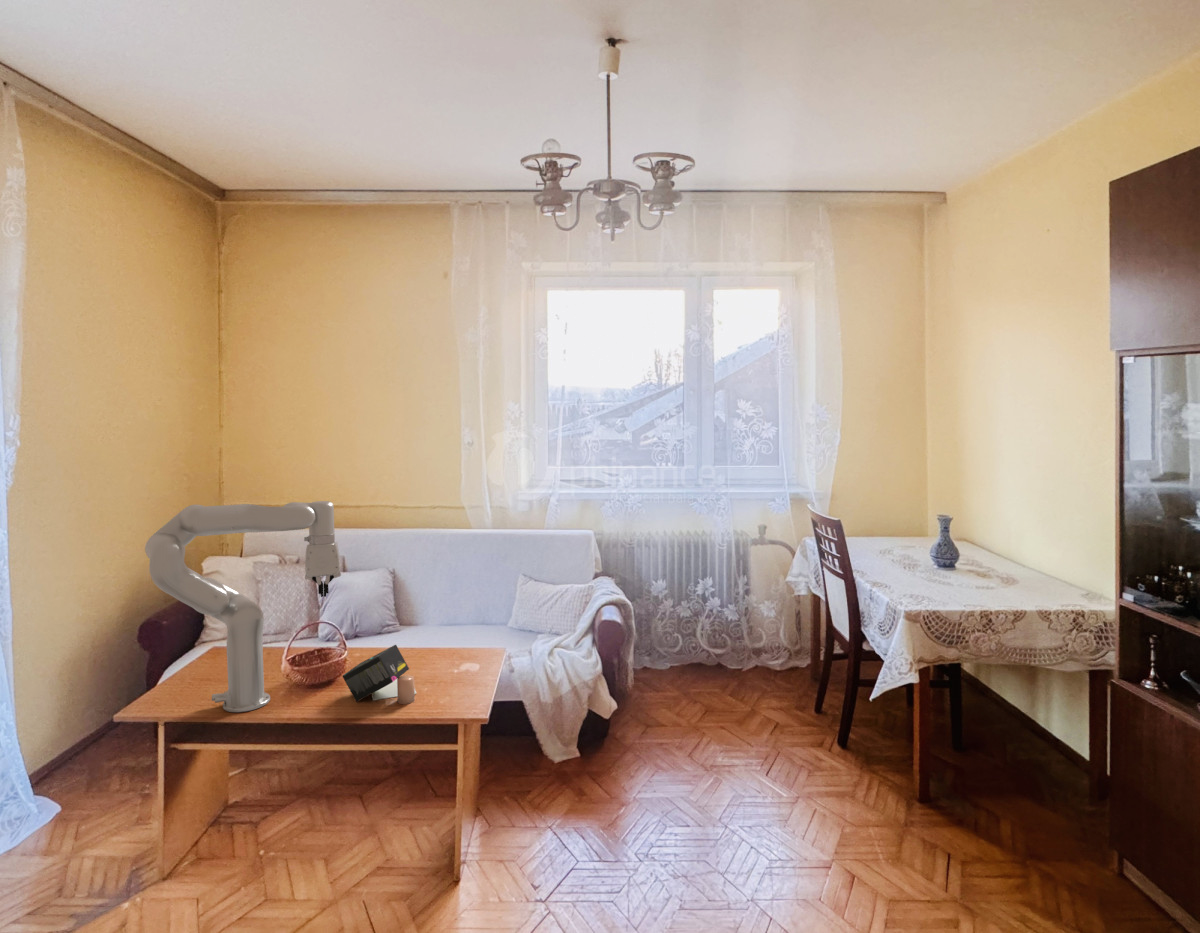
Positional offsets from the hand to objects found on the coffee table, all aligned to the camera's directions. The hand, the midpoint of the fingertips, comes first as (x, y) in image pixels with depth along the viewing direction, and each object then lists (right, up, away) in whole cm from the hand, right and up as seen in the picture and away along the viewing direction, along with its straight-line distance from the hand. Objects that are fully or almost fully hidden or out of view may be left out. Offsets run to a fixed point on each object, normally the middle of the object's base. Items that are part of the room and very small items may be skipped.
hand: (323, 595), depth 212 cm
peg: (+30, -30, -11) cm, 44 cm away
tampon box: (+14, -26, -7) cm, 30 cm away
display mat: (+23, -29, -2) cm, 37 cm away
